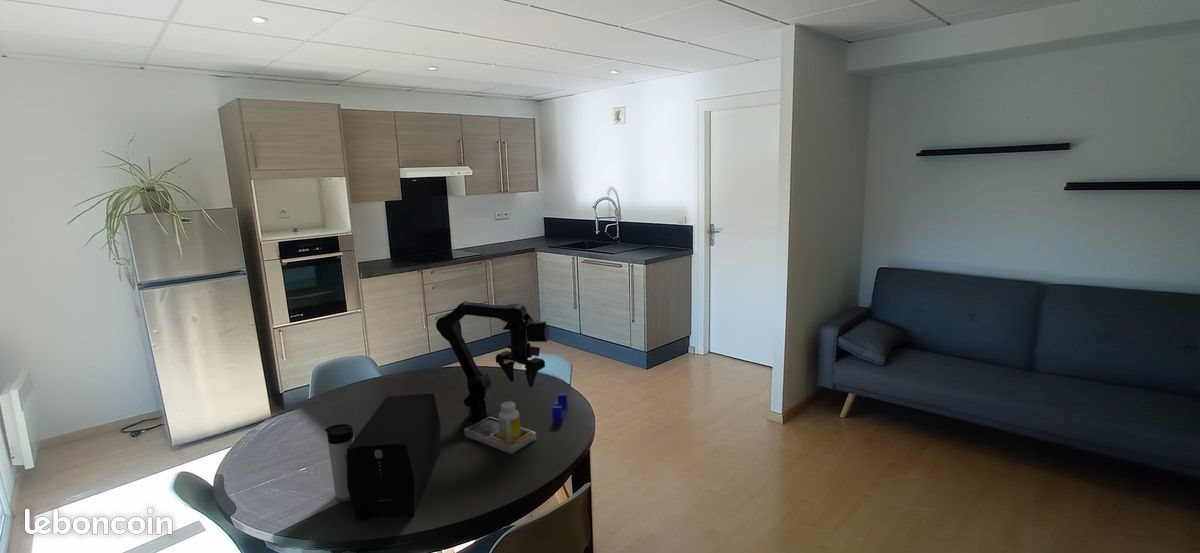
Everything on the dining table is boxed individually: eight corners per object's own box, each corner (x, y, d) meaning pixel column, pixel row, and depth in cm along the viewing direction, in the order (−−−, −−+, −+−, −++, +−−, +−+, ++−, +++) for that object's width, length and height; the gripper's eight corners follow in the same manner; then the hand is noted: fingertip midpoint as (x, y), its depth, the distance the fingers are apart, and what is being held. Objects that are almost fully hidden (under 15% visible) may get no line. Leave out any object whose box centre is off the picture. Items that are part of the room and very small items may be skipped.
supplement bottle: (523, 436, 178) (520, 399, 175) (519, 446, 171) (516, 408, 169) (503, 436, 178) (500, 400, 176) (498, 446, 172) (495, 409, 169)
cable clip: (555, 409, 198) (554, 393, 197) (567, 409, 198) (567, 393, 197) (549, 423, 187) (548, 407, 186) (561, 424, 186) (561, 407, 185)
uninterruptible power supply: (352, 522, 136) (342, 448, 133) (391, 454, 169) (384, 394, 166) (418, 516, 138) (410, 443, 134) (444, 450, 171) (438, 391, 167)
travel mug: (339, 489, 151) (330, 422, 147) (364, 487, 151) (355, 421, 148) (330, 502, 145) (321, 433, 141) (356, 500, 145) (347, 431, 141)
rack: (464, 436, 180) (464, 426, 179) (490, 423, 188) (489, 414, 188) (511, 454, 167) (510, 444, 166) (536, 439, 176) (535, 429, 175)
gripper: (554, 339, 186) (557, 382, 189) (516, 331, 197) (518, 372, 200) (532, 348, 177) (534, 393, 180) (493, 339, 188) (496, 382, 191)
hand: (521, 384), depth 188 cm, fingers open, 9 cm apart
